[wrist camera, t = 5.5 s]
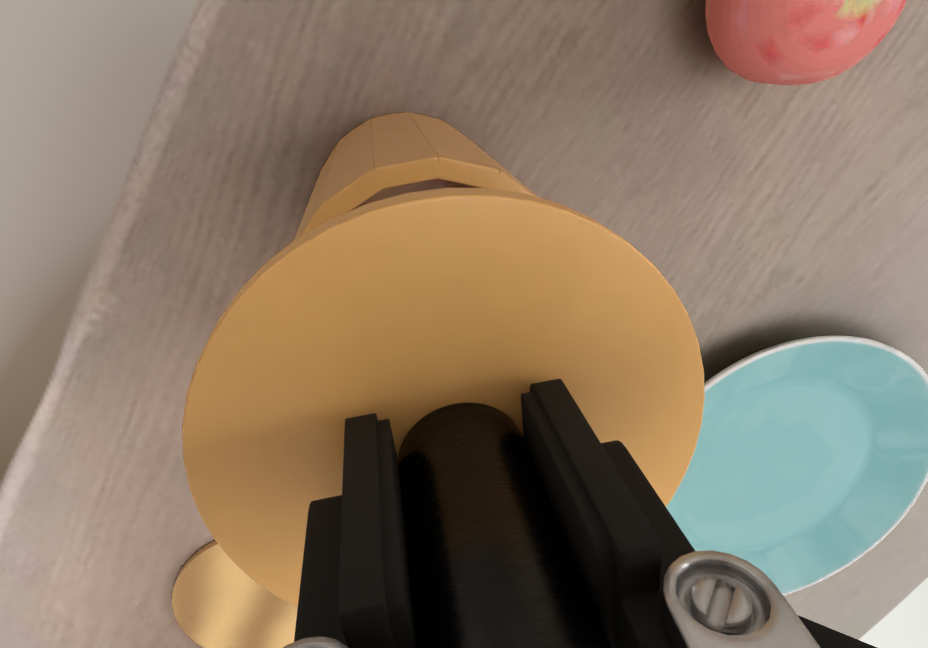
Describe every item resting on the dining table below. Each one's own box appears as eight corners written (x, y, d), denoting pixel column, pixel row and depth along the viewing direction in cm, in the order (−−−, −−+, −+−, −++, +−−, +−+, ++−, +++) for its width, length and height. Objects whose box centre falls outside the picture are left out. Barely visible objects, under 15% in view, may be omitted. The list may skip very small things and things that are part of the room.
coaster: (170, 654, 40) (168, 660, 40) (177, 521, 35) (175, 527, 35) (345, 656, 43) (344, 663, 42) (372, 534, 38) (372, 539, 38)
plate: (551, 455, 38) (564, 484, 35) (854, 249, 35) (892, 264, 32) (692, 617, 47) (711, 649, 45) (941, 466, 44) (976, 492, 41)
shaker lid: (186, 581, 13) (52, 994, 7) (216, 121, 9) (-18, 236, 3) (591, 594, 15) (727, 911, 9) (749, 236, 11) (1126, 414, 6)
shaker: (307, 270, 30) (267, 416, 18) (331, 92, 27) (302, 125, 15) (469, 297, 32) (532, 444, 20) (511, 135, 29) (616, 195, 17)
